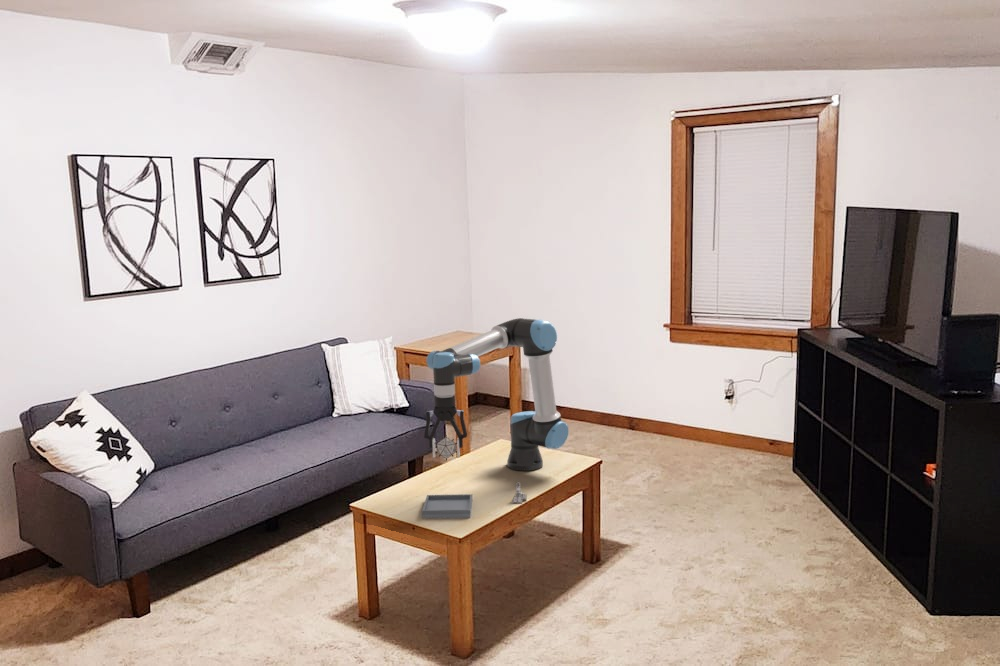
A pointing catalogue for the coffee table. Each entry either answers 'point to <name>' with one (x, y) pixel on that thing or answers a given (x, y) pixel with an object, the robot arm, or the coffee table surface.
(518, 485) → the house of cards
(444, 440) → the game die
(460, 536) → the coffee table surface
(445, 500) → the square tray
